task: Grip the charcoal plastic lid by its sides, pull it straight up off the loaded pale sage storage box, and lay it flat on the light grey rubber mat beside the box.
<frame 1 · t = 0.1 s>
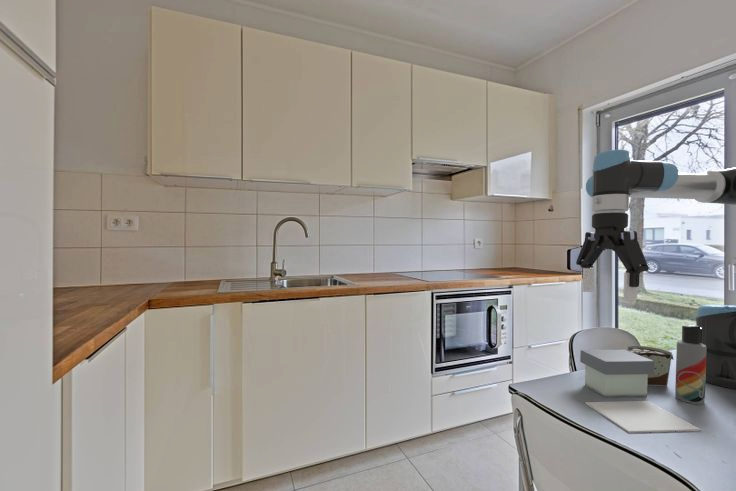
hand: (607, 296, 86), 28 cm above the table, fingers open, 13 cm apart
lid: (615, 367, 94), point 6 cm above the table, touching storage box
mat: (638, 416, 80), on the table
food container: (642, 381, 101), on the table
lotion bottle: (689, 400, 89), on the table
storage box: (614, 390, 94), on the table
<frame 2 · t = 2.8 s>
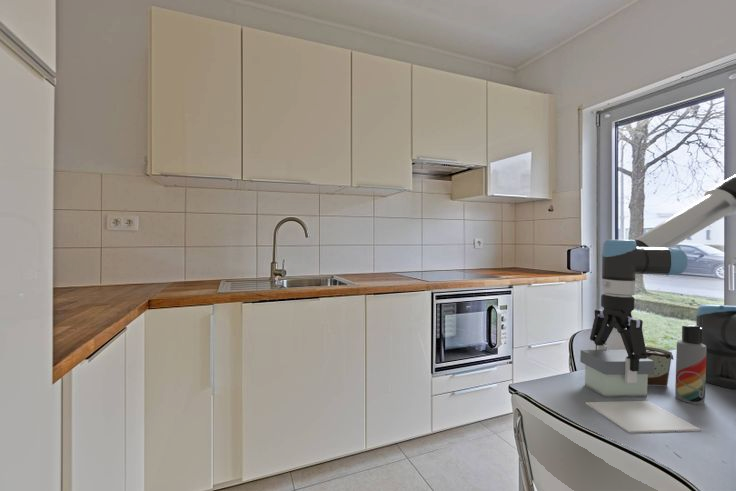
hand: (615, 374, 94), 5 cm above the table, fingers closed on lid, 9 cm apart
lid: (615, 367, 94), point 7 cm above the table, touching gripper, storage box
everything else where it was.
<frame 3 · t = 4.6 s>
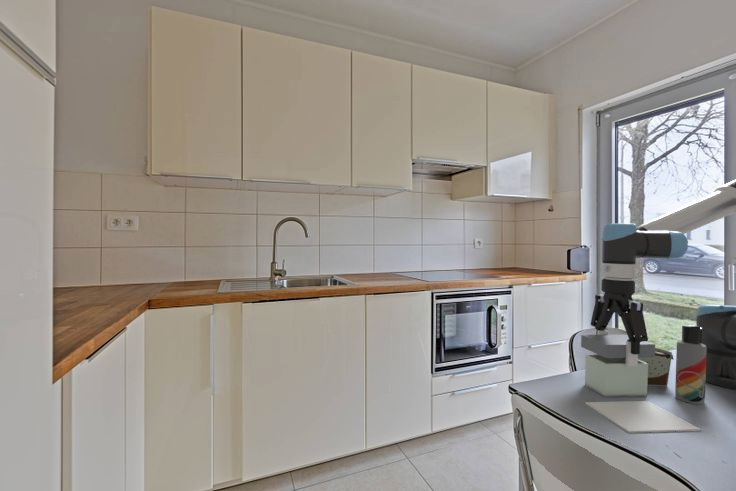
hand: (616, 358, 94), 9 cm above the table, fingers closed on lid, 9 cm apart
lid: (616, 351, 94), point 11 cm above the table, touching gripper
everything else where it was.
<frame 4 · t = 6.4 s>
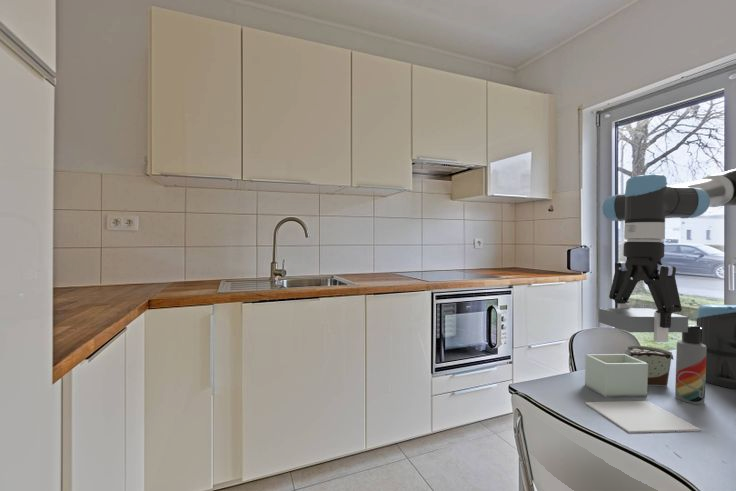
hand: (640, 334, 80), 20 cm above the table, fingers closed on lid, 9 cm apart
lid: (640, 326, 80), point 21 cm above the table, touching gripper
everything else where it was.
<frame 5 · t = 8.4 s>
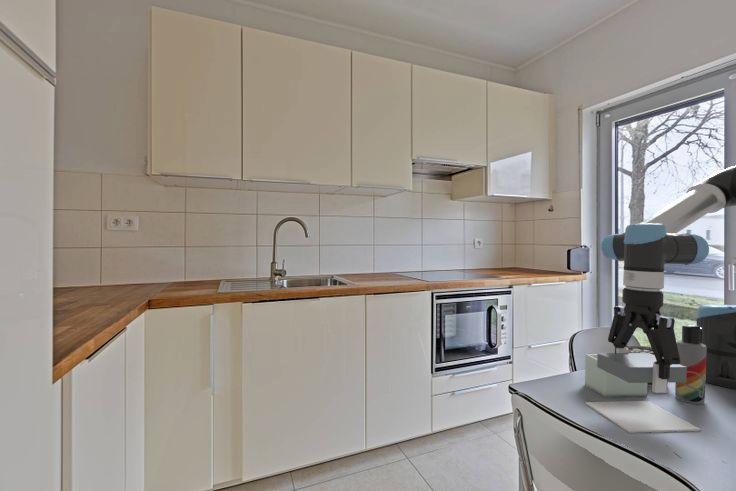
hand: (639, 382, 80), 8 cm above the table, fingers closed on lid, 9 cm apart
lid: (639, 374, 80), point 10 cm above the table, touching gripper
everything else where it was.
when the fingers open (2 cm above the table, at t = 10.2 s): lid drops 3 cm, resting on mat.
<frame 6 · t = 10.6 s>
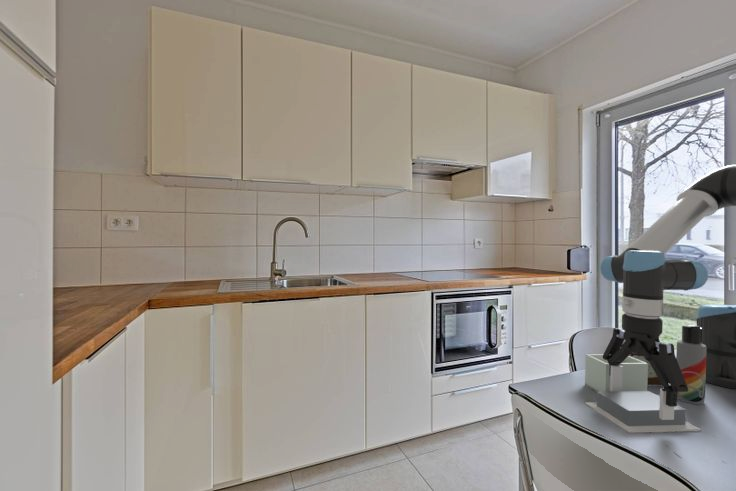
hand: (639, 403, 80), 3 cm above the table, fingers open, 13 cm apart
lid: (638, 414, 80), resting on mat
everything else where it was.
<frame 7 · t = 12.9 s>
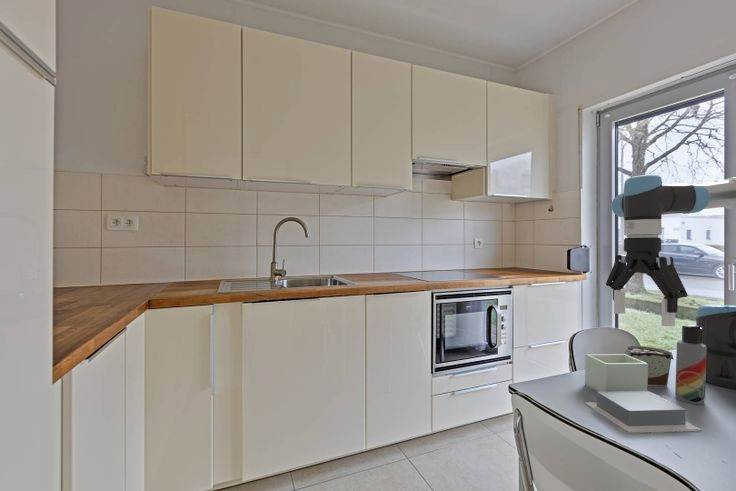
hand: (642, 319, 87), 22 cm above the table, fingers open, 13 cm apart
nothing on the table moved.
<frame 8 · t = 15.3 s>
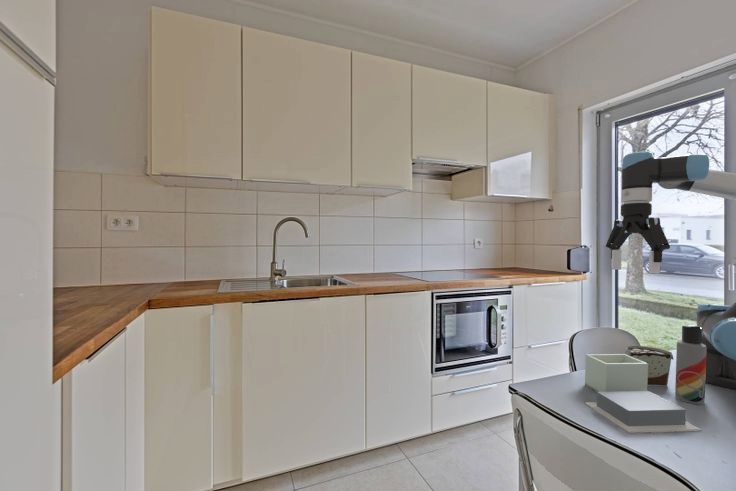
hand: (634, 271, 105), 33 cm above the table, fingers open, 13 cm apart
nothing on the table moved.
at the end: lid inside the target area on the mat (0.0 cm from its centre), point 0.4 cm above the mat's base; lid tilted 0°; the gripper is holding nothing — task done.
